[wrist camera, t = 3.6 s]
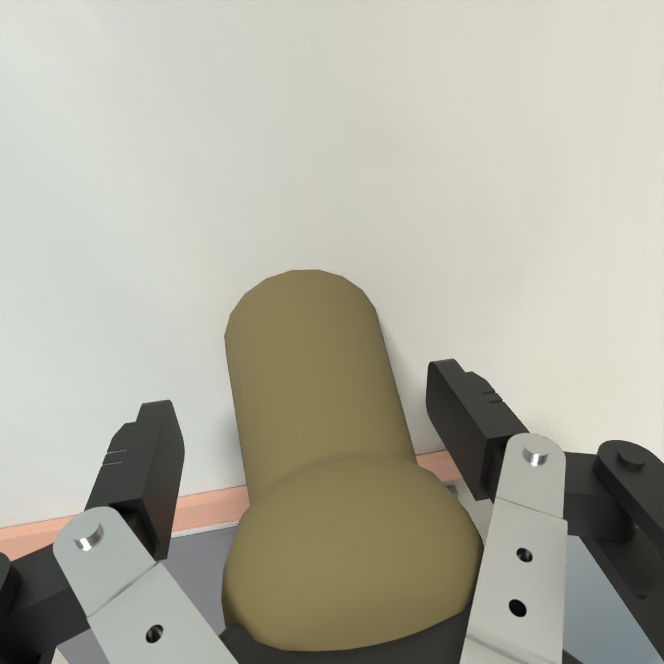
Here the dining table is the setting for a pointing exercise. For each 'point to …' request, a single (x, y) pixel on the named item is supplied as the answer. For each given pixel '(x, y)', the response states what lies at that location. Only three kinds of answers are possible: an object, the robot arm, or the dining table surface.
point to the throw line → (188, 510)
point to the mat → (193, 578)
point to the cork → (333, 480)
